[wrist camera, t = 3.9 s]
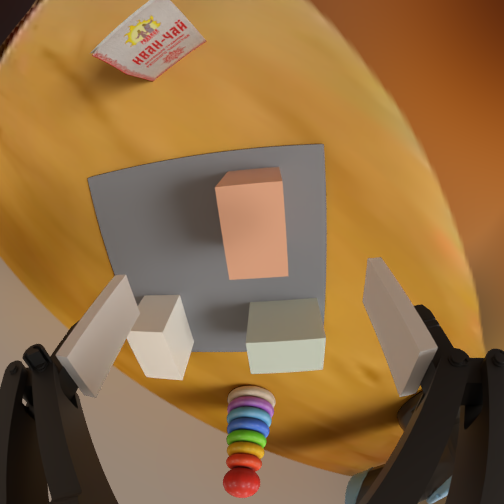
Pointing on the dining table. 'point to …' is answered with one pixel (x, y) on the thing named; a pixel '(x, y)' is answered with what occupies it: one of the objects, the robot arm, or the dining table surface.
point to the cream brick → (162, 337)
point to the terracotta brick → (253, 223)
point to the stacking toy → (247, 438)
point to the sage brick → (285, 336)
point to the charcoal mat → (211, 236)
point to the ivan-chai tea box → (149, 41)
